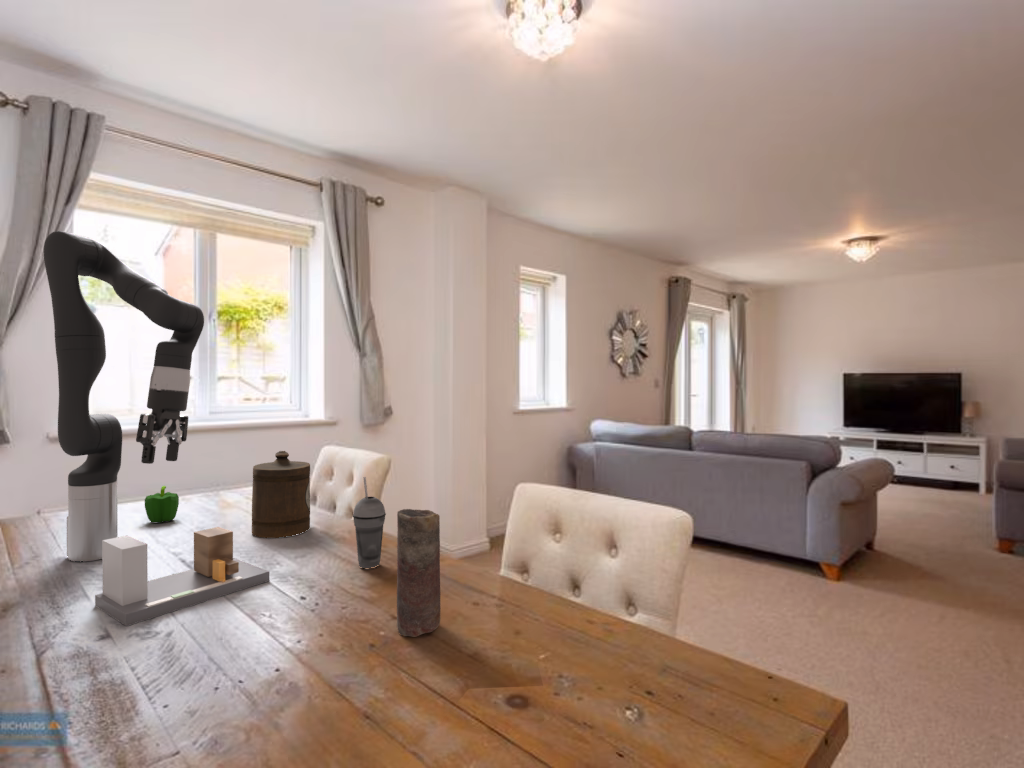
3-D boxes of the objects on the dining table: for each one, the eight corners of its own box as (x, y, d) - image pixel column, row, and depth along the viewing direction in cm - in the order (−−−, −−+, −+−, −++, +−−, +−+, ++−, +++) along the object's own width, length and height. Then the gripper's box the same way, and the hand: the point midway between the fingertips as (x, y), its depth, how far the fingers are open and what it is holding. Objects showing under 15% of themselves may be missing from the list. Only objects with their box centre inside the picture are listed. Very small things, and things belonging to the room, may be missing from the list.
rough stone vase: (399, 619, 98) (399, 506, 98) (441, 618, 99) (442, 505, 98) (394, 639, 90) (394, 517, 90) (439, 638, 91) (440, 516, 91)
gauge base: (234, 567, 124) (234, 513, 124) (269, 580, 116) (269, 523, 116) (95, 605, 103) (94, 541, 103) (126, 626, 95) (126, 555, 94)
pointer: (218, 576, 111) (218, 559, 111) (229, 581, 109) (229, 563, 109) (212, 578, 110) (212, 560, 110) (223, 583, 108) (223, 564, 108)
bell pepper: (167, 525, 158) (167, 490, 157) (138, 525, 158) (138, 489, 158) (185, 517, 166) (185, 484, 166) (158, 517, 166) (157, 484, 166)
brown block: (218, 564, 119) (218, 526, 119) (245, 575, 113) (245, 535, 112) (193, 570, 115) (193, 532, 115) (221, 582, 109) (220, 541, 108)
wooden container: (321, 528, 155) (321, 450, 155) (273, 542, 143) (273, 456, 142) (288, 521, 163) (288, 446, 163) (240, 533, 151) (240, 451, 150)
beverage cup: (377, 572, 121) (377, 481, 121) (346, 570, 122) (346, 479, 122) (391, 561, 128) (391, 475, 128) (361, 559, 129) (361, 473, 129)
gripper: (171, 389, 130) (162, 459, 129) (131, 384, 116) (120, 462, 115) (203, 392, 131) (194, 461, 129) (167, 387, 116) (156, 465, 115)
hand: (159, 462), depth 122 cm, fingers open, 8 cm apart
